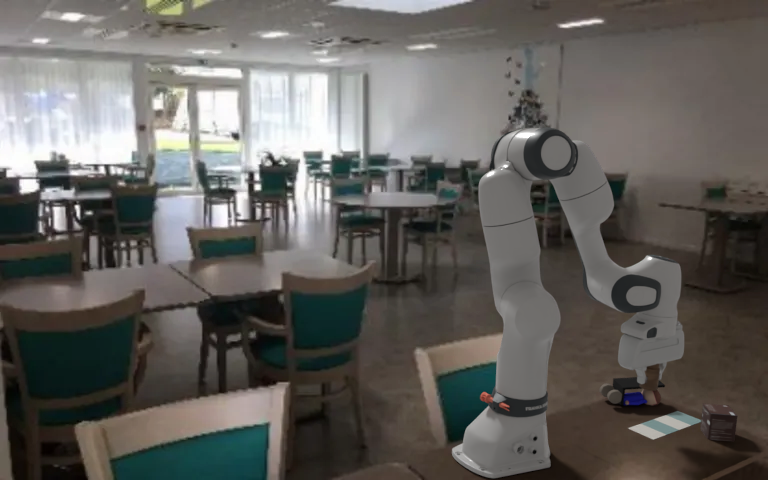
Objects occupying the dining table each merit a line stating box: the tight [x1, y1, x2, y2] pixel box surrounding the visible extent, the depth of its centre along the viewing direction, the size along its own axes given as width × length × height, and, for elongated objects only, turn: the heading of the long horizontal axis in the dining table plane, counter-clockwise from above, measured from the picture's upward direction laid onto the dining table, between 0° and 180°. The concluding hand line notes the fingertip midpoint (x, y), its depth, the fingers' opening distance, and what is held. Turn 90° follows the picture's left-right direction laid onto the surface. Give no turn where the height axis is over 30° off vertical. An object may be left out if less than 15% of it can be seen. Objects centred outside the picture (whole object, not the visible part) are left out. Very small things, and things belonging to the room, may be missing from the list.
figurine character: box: [599, 376, 666, 407], centre depth 175 cm, size 7×8×15 cm
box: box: [699, 403, 738, 442], centre depth 157 cm, size 6×6×7 cm
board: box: [627, 410, 701, 440], centre depth 163 cm, size 20×7×1 cm, turn 123°
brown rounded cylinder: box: [640, 364, 660, 391], centre depth 156 cm, size 4×4×8 cm
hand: (649, 381), depth 157 cm, fingers closed on brown rounded cylinder, 4 cm apart
